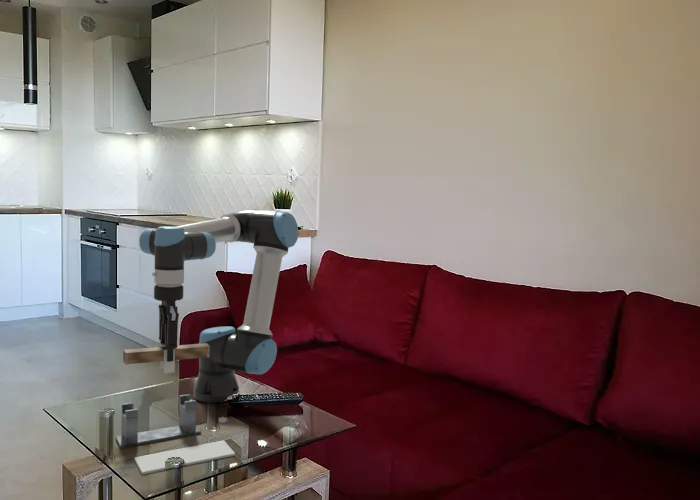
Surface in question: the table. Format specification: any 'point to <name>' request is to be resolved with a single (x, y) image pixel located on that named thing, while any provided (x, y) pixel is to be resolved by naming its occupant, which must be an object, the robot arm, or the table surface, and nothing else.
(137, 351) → the rail
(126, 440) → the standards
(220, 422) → the table surface
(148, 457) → the mat
